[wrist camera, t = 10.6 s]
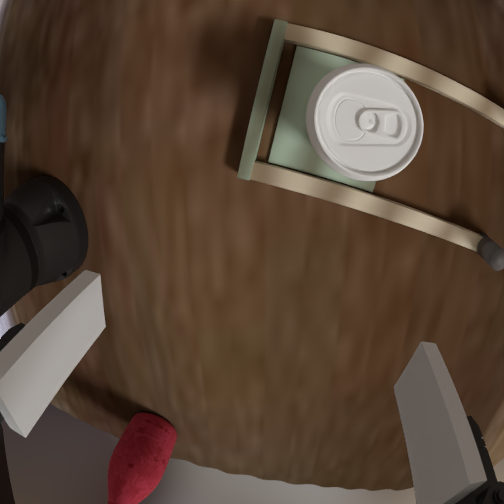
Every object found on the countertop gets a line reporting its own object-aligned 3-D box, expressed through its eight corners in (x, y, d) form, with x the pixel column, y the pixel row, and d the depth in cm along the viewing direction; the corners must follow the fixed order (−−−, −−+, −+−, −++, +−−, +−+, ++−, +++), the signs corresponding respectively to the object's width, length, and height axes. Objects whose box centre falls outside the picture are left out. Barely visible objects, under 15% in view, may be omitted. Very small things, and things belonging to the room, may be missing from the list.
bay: (239, 177, 33) (228, 187, 28) (277, 21, 25) (271, 6, 21) (483, 254, 31) (502, 273, 27) (526, 124, 24) (551, 129, 19)
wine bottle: (131, 424, 56) (73, 538, 29) (136, 402, 52) (67, 532, 25) (174, 444, 57) (126, 563, 29) (184, 424, 52) (129, 562, 25)
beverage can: (306, 77, 27) (307, 53, 16) (387, 86, 26) (432, 71, 15) (303, 157, 31) (302, 179, 20) (383, 165, 29) (423, 192, 19)
